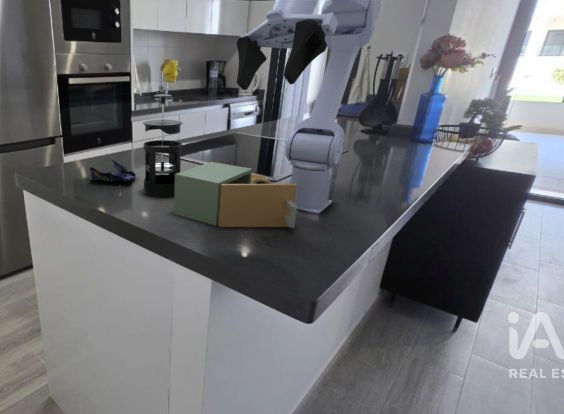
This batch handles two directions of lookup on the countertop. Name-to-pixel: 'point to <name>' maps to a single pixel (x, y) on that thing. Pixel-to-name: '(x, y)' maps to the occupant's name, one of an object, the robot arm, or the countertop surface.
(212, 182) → the cupboard
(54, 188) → the countertop surface
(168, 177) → the french press
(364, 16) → the robot arm
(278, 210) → the door
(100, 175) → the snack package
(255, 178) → the pastry
